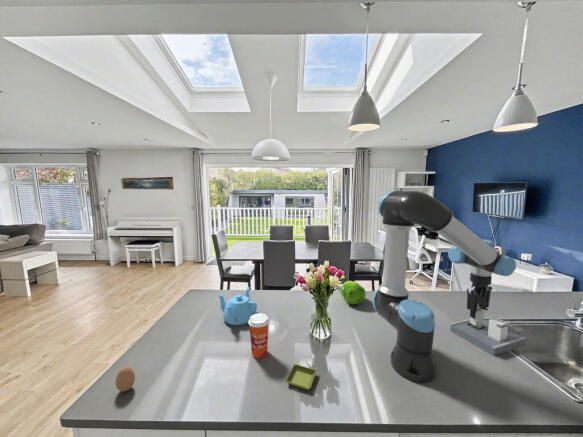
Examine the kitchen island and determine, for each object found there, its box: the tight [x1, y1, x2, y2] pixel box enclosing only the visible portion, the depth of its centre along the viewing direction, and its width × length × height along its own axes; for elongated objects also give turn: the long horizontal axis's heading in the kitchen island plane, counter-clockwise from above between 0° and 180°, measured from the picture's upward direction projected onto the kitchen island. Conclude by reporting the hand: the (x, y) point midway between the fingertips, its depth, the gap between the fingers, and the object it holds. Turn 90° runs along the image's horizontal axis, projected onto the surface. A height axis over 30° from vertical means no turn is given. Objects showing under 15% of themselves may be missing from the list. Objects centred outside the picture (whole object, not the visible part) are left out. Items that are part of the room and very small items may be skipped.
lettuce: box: [340, 280, 366, 306], centre depth 142 cm, size 14×20×12 cm
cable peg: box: [471, 306, 483, 330], centre depth 110 cm, size 4×4×10 cm
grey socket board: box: [449, 318, 527, 357], centre depth 106 cm, size 20×18×3 cm
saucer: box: [285, 363, 317, 391], centre depth 83 cm, size 9×9×2 cm
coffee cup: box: [247, 313, 271, 359], centre depth 95 cm, size 8×8×15 cm
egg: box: [115, 366, 136, 393], centre depth 78 cm, size 5×5×8 cm
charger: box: [488, 317, 509, 342], centre depth 102 cm, size 5×4×10 cm
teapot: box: [216, 286, 259, 327], centre depth 122 cm, size 17×19×12 cm
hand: (476, 323), depth 110 cm, fingers closed on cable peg, 3 cm apart
